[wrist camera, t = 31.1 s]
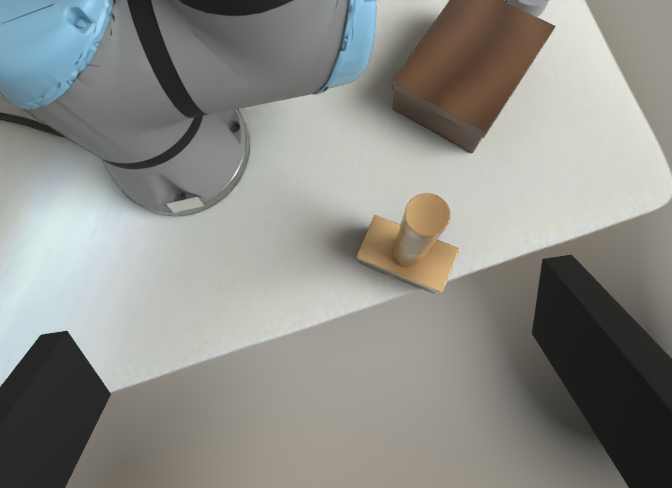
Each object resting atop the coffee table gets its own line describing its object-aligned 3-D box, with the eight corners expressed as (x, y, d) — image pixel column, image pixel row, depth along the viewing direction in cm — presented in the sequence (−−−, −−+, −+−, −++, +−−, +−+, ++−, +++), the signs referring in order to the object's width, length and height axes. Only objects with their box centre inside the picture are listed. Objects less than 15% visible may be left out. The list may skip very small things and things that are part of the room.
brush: (357, 263, 42) (351, 220, 26) (373, 225, 43) (378, 160, 27) (435, 296, 41) (480, 272, 25) (450, 256, 42) (505, 207, 25)
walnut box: (387, 108, 45) (390, 80, 40) (450, 18, 47) (460, -20, 42) (473, 156, 44) (487, 132, 39) (534, 60, 45) (556, 25, 40)
